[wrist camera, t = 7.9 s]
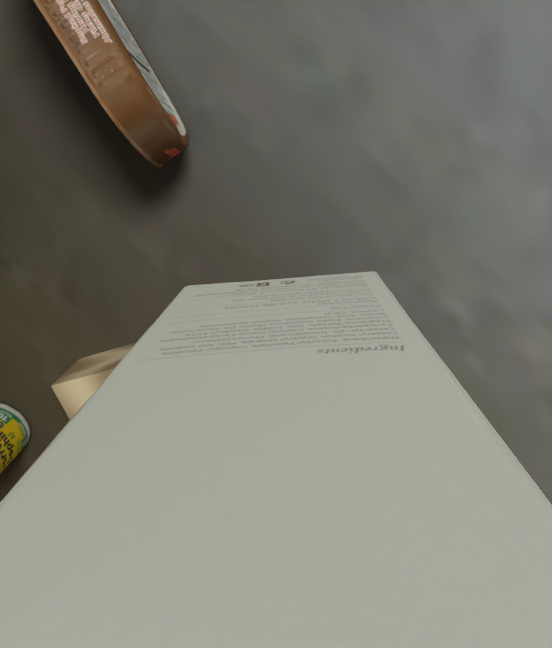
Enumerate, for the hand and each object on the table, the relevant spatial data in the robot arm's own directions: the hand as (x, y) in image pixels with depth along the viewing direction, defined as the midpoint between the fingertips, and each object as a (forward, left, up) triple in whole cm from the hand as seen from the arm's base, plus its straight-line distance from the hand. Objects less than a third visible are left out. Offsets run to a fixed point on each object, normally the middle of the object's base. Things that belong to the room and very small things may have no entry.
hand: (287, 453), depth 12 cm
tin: (+8, -16, -23) cm, 29 cm away
